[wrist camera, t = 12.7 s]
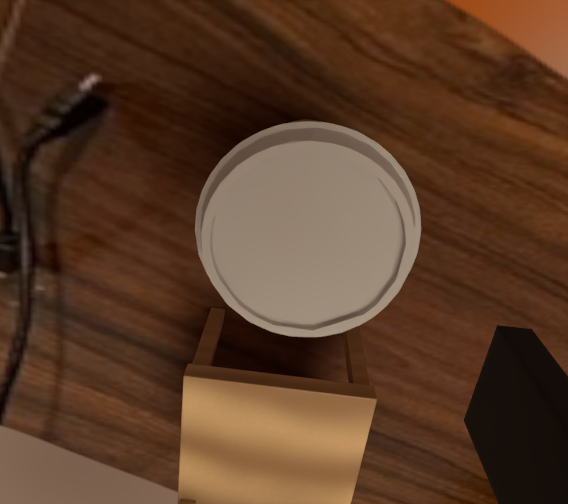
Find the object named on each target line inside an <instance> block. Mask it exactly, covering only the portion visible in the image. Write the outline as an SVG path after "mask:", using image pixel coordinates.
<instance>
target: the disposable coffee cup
mask: <svg viewBox="0 0 568 504" xmlns="http://www.w3.org/2000/svg"><path fill="white" fill-rule="evenodd" d="M195 234H196V240H197V246H198V252H199V256H200V258H201V261H202V263H203V266H204V268H205V270H206V273H207V274H208V276H209V278H210V280H211V282H212V284H213V285H214V287H215V288H216V289H217V291H218V292H219V294H220V295H221V296H222V298H223V299H224V301H225V302H226V303H227V305H229V306H230V307H231V308H232V309H234V310H235V311H236V312H237V313H239V314H240V315H241V316H242V317H244V318H245V319H246V320H248V321H249V322H250V323H253V324H255V325H257V326H259V327H262V328H264V329H266V330H268V331H270V332H274V333H278V334H282V335H286V336H295V337H323V336H328V335H333V334H338V333H342V332H344V331H347V330H349V329H352V328H354V327H357V326H359V325H361V324H363V323H364V322H366V321H368V320H369V319H371V318H373V317H374V316H375V315H377V314H378V313H379V312H380V311H381V310H383V309H384V308H385V307H386V306H387V305H388V304H389V302H390V301H391V300H392V299H393V298H394V297H395V296H396V294H397V293H398V292H399V291H400V289H401V287H402V285H403V283H404V281H405V279H406V277H407V275H408V274H409V272H410V270H411V268H412V265H413V263H414V260H415V258H416V255H417V253H418V247H419V240H420V234H421V220H420V208H419V204H418V201H417V198H416V194H415V191H414V188H413V186H412V184H411V182H410V180H409V179H408V177H407V175H406V173H405V171H404V169H403V168H402V167H401V166H400V165H399V164H398V162H397V161H396V160H395V159H394V158H393V156H392V155H391V154H390V153H389V152H388V151H386V150H385V149H384V148H383V147H381V146H380V145H379V144H378V143H377V142H375V141H373V140H371V139H370V138H368V137H366V136H365V135H363V134H361V133H359V132H358V131H355V130H353V129H350V128H346V127H343V126H340V125H336V124H332V123H327V122H321V121H317V120H311V119H302V120H296V121H292V122H289V123H284V124H280V125H277V126H274V127H271V128H268V129H265V130H262V131H260V132H258V133H256V134H254V135H252V136H250V137H249V138H247V139H245V140H243V141H242V142H240V143H239V144H238V145H236V146H235V147H234V148H233V149H232V150H231V151H230V152H229V153H228V154H227V155H225V156H224V157H223V158H222V159H221V160H220V162H219V163H218V164H217V166H216V167H215V168H214V170H213V171H212V173H211V174H210V176H209V178H208V180H207V182H206V184H205V186H204V188H203V190H202V192H201V195H200V199H199V203H198V206H197V210H196V223H195Z"/></svg>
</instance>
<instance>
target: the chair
mask: <svg viewBox="0 0 568 504" xmlns="http://www.w3.org/2000/svg"><path fill="white" fill-rule="evenodd" d="M224 315H225V309H222V308H214V307H211V309H210V312H209V315H208V318H207V321H206V324H205V327H204V330H203V333H202V336H201V339H200V342H199V345H198V348H197V351H196V354H195V357H194V360H193V363H192V364H188V365H187V368H186V370H185V373H184V376H183V398H182V420H181V442H180V465H179V487H178V504H351V500H352V496H353V492H354V488H355V484H356V480H357V477H358V473H359V469H360V465H361V461H362V457H363V453H364V449H365V445H366V441H367V437H368V433H369V429H370V425H371V421H372V417H373V413H374V409H375V405H376V401H377V397H376V392H375V387H374V386H370V384H369V378H368V373H367V368H366V362H365V357H364V351H363V346H362V341H361V335H360V330H359V326H357V327H354V328H352V329H349V330H347V331H344V332H343V341H344V348H345V356H346V364H347V372H348V380H349V383H345V382H337V381H329V380H320V379H312V378H304V377H296V376H287V375H279V374H271V373H263V372H255V371H246V370H238V369H230V368H222V367H213V366H211V365H212V362H213V358H214V354H215V351H216V347H217V344H218V340H219V336H220V333H221V329H222V326H223V322H224Z"/></svg>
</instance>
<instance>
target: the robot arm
mask: <svg viewBox="0 0 568 504" xmlns="http://www.w3.org/2000/svg"><path fill="white" fill-rule="evenodd" d="M464 422H465V424H466V427H467V429H468V432H469V434H470V436H471V439H472V441H473V444H474V446H475V448H476V451H477V453H478V456H479V458H480V460H481V463H482V465H483V468H484V470H485V472H486V475H487V477H488V480H489V482H490V484H491V487H492V489H493V492H494V494H495V496H496V499H497V501H498V504H568V376H567V375H566V374H565V372H564V371H563V370H562V368H561V367H560V366H559V364H558V363H557V362H556V361H555V359H554V358H553V357H552V355H551V354H550V353H549V351H548V350H547V349H546V347H545V346H544V345H543V344H542V342H541V341H540V340H539V338H538V337H537V336H536V334H535V333H534V332H533V330H532V329H525V328H516V327H507V326H498V325H497V328H496V331H495V333H494V336H493V339H492V342H491V345H490V348H489V350H488V353H487V356H486V359H485V362H484V365H483V367H482V370H481V373H480V376H479V379H478V382H477V384H476V387H475V390H474V393H473V396H472V399H471V401H470V404H469V407H468V410H467V413H466V416H465V418H464Z"/></svg>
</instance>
